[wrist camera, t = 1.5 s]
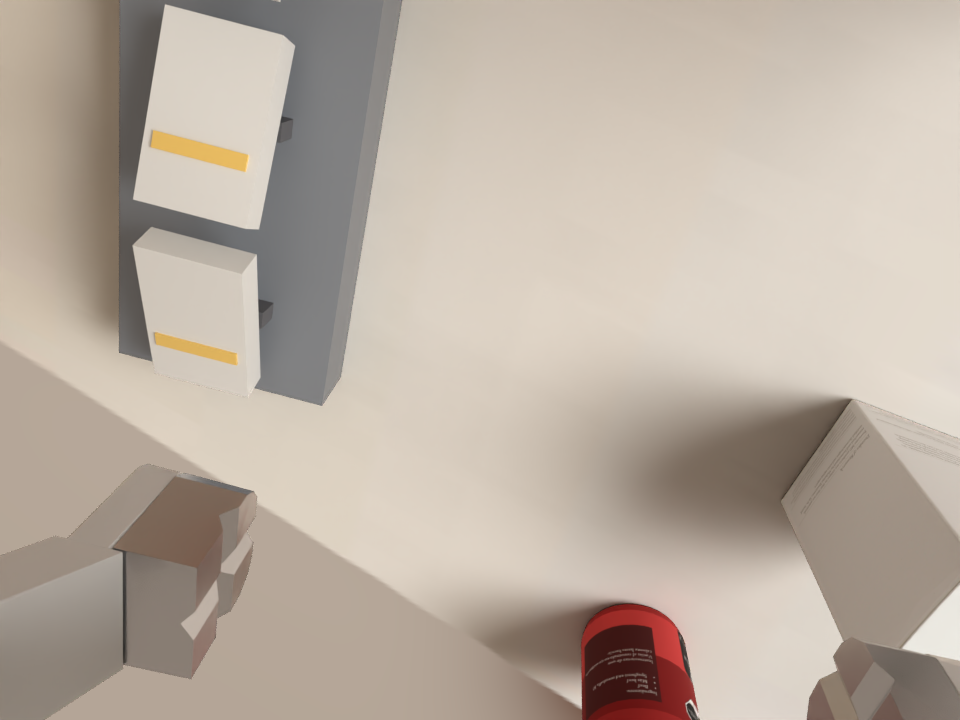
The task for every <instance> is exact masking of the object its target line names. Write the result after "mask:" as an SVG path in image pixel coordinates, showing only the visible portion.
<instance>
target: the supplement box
mask: <svg viewBox="0 0 960 720" xmlns="http://www.w3.org/2000/svg"><path fill="white" fill-rule="evenodd" d="M781 504H782V506H783V508H784V510H785V512H786V515H787V517H788V519H789V521H790V523H791V526H792V528H793V530H794V532H795V535H796V537H797V539H798V541H799V543H800V546H801V548H802V550H803V552H804V554H805V557H806V559H807V561H808V563H809V566H810V568H811V570H812V572H813V574H814V577H815V579H816V581H817V583H818V585H819V588H820V590H821V592H822V594H823V597H824V599H825V601H826V603H827V605H828V607H829V610H830V612H831V614H832V616H833V619H834V621H835V623H836V625H837V628H838V630H839V632H840V634H841V636H842V639H843V641H846V640H847V639H849V638H850V637H855V638H859V639H863V640H867V641H872V642H876V643H880V644H884V645H889V646H893V647H897V648H901V649H906V650H910V651H914V652H918V653H922V654H931V655H936V656H940V657H945V658H949V659H954V660H958V661H960V439H957V438H955V437H952V436H949V435H947V434H944V433H941V432H939V431H936V430H933V429H931V428H928V427H926V426H923V425H920V424H918V423H915V422H913V421H910V420H907V419H905V418H902V417H899V416H897V415H894V414H892V413H889V412H886V411H884V410H881V409H878V408H876V407H873V406H871V405H868V404H865V403H862V402H860V401H857V400H851V402H850V403H849V404H848V406H847V407H846V409H845V410H844V411H843V413H842V414H841V416H840V417H839V419H838V420H837V421H836V423H835V424H834V426H833V427H832V429H831V430H830V432H829V433H828V434H827V436H826V437H825V439H824V440H823V442H822V443H821V444H820V446H819V447H818V449H817V450H816V452H815V453H814V455H813V456H812V457H811V459H810V460H809V462H808V463H807V464H806V466H805V467H804V469H803V470H802V472H801V473H800V474H799V476H798V477H797V479H796V480H795V482H794V483H793V485H792V486H791V487H790V489H789V490H788V492H787V493H786V495H785V496H784V498H783V499H782V501H781Z"/></svg>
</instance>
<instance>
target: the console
mask: <svg viewBox="0 0 960 720" xmlns="http://www.w3.org/2000/svg"><path fill="white" fill-rule="evenodd" d="M165 4H166V5H170V6H174V7H177V8H181V9H185V10H189V11H193V12H196V13H200V14H204V15H208V16H212V17H216V18H219V19H223V20H227V21H231V22H235V23H239V24H242V25H246V26H250V27H254V28H258V29H262V30H265V31H269V32H273V33H277V34H281V35H284V36H285V37H286V38H287V39H288V40H289V41H290V42H292V43H293V44H294V45H295V50H294V55H293V60H292V65H291V70H290V75H289V80H288V85H287V90H286V95H285V100H284V105H283V110H282V115H281V121H280V126H279V131H278V136H277V141H276V146H275V151H274V156H273V161H272V166H271V171H270V176H269V181H268V186H267V192H266V197H265V202H264V207H263V212H262V217H261V222H260V227H259V229H244V228H240V227H236V226H233V225H229V224H225V223H221V222H217V221H214V220H210V219H206V218H202V217H198V216H194V215H191V214H187V213H183V212H179V211H175V210H172V209H168V208H164V207H160V206H156V205H152V204H149V203H145V202H141V201H137V200H133V196H134V190H135V184H136V178H137V172H138V166H139V159H140V153H141V147H142V141H143V135H144V129H145V123H146V117H147V111H148V105H149V99H150V92H151V86H152V80H153V74H154V68H155V62H156V56H157V50H158V44H159V38H160V32H161V25H162V19H163V13H164V7H165ZM401 4H402V0H281V1H280V2H277V1H273V0H120V108H119V353H122V354H126V355H130V356H134V357H138V358H141V359H145V360H149V361H152V355H151V349H150V343H149V338H148V332H147V326H146V320H145V315H144V309H143V303H142V297H141V292H140V286H139V280H138V274H137V269H136V263H135V257H134V251H133V246H132V245H133V244H134V243H135V242H136V241H137V240H138V239H139V238H140V237H141V236H143V235H144V234H145V233H146V232H147V231H148V230H149V229H150V228H151V227H154V228H157V229H161V230H165V231H169V232H173V233H177V234H180V235H184V236H188V237H192V238H196V239H200V240H203V241H207V242H211V243H215V244H219V245H222V246H226V247H230V248H234V249H238V250H242V251H245V252H249V253H253V254H257V280H258V312H259V344H260V376H261V378H260V379H259V381H258V382H257V384H256V386H255V387H254V388H256V389H260V390H263V391H267V392H271V393H275V394H279V395H282V396H286V397H290V398H294V399H298V400H302V401H305V402H309V403H313V404H317V405H321V406H322V405H323V403H324V402H325V400H326V399H327V397H328V396H329V394H330V393H331V391H332V390H333V388H334V387H335V385H336V383H337V382H338V380H339V379H340V377H341V372H342V366H343V360H344V354H345V347H346V341H347V335H348V329H349V323H350V317H351V311H352V305H353V298H354V292H355V286H356V280H357V274H358V268H359V262H360V255H361V249H362V243H363V237H364V231H365V225H366V219H367V212H368V206H369V200H370V194H371V188H372V182H373V176H374V169H375V163H376V157H377V151H378V145H379V139H380V133H381V126H382V120H383V114H384V108H385V102H386V96H387V90H388V83H389V77H390V71H391V65H392V59H393V53H394V47H395V40H396V34H397V28H398V22H399V16H400V10H401Z"/></svg>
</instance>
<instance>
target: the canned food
mask: <svg viewBox="0 0 960 720" xmlns="http://www.w3.org/2000/svg"><path fill="white" fill-rule="evenodd" d="M581 668H582V720H700V719H699V714H698V708H697V703H696V698H695V693H694V688H693V683H692V678H691V672H690V667H689V662H688V657H687V652H686V647H685V642H684V640H683V637H682V635H681V634H680V632H679V630H678V629H677V627H676V626H675V624H674V623H673V622H672V621H671V620H670V619H669V618H668V617H667V616H666V615H664V614H662V613H661V612H659V611H657V610H655V609H652V608H650V607H646V606H642V605H635V604H621V605H616V606H612V607H609V608H606V609H604V610H602V611H600V612H599V613H597V614H596V615H595V616H594V617H592V618H591V620H590V621H589V622H588V624H587V626H586V628H585V631H584V634H583V637H582V642H581Z"/></svg>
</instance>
